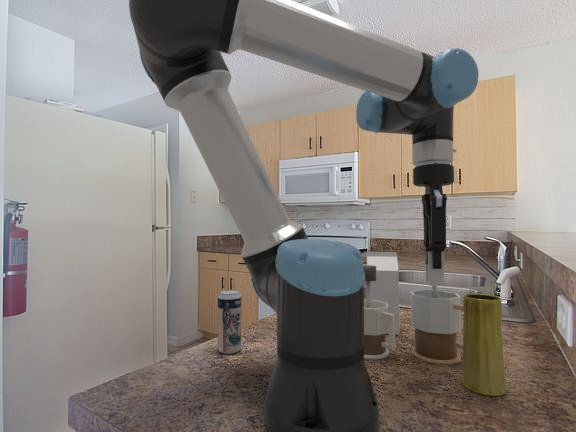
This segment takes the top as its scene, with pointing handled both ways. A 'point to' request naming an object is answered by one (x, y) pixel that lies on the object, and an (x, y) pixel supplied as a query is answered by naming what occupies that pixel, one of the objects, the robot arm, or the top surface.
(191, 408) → the top surface
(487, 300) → the vase
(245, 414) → the top surface
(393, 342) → the press cream
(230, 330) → the beer can
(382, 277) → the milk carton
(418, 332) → the press copper
